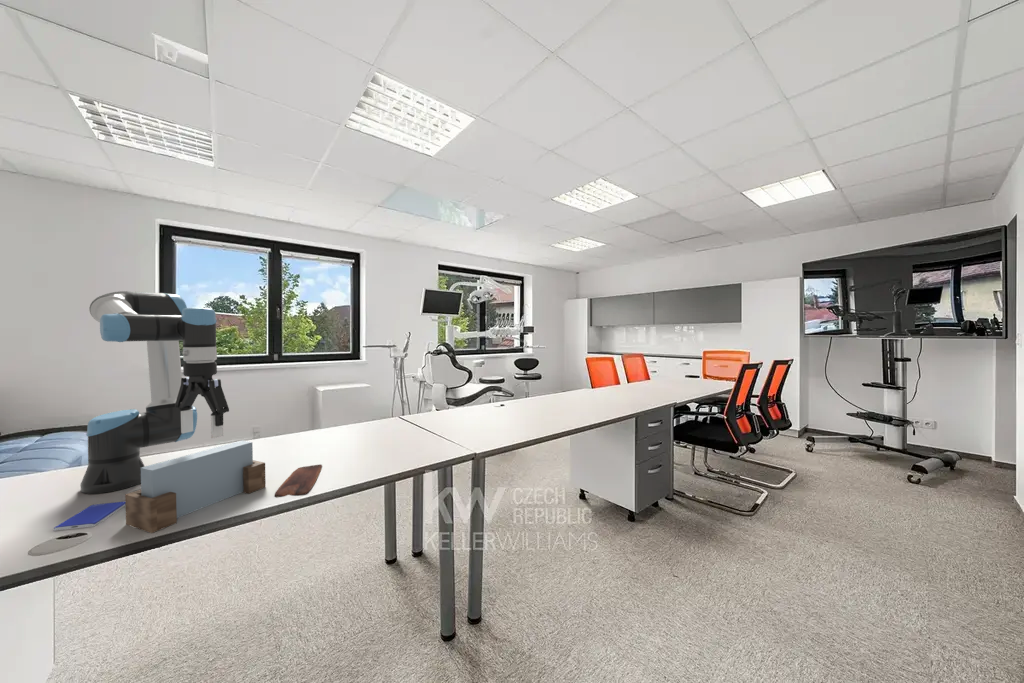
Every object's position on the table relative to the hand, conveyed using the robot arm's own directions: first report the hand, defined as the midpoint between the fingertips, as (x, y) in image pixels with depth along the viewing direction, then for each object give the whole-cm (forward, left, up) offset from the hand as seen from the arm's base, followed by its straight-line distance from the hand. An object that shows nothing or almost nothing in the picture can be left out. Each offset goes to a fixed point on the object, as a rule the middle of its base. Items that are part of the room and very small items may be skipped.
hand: (202, 434), depth 111 cm
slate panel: (0, 0, -21) cm, 21 cm away
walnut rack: (0, 0, -21) cm, 21 cm away
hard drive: (-19, -16, -21) cm, 33 cm away
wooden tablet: (+11, +24, -21) cm, 34 cm away
